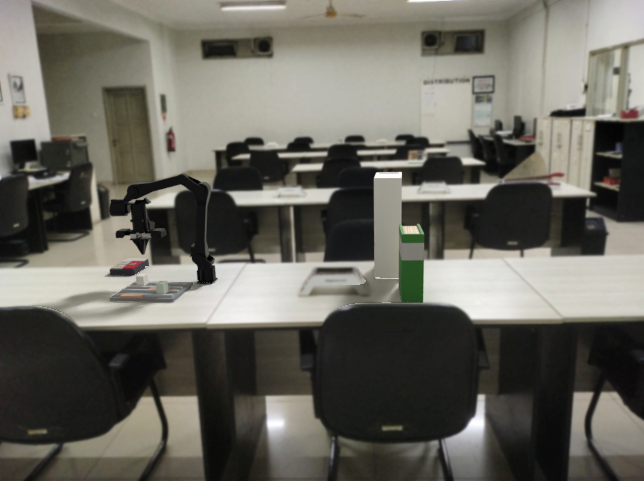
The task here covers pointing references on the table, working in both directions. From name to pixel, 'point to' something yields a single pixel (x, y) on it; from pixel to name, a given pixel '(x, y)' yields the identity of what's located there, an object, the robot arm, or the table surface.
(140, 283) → the cream slider
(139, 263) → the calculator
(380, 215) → the storage box
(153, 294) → the grey slider track board
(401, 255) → the hardback book
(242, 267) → the table surface
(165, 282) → the sage slider
